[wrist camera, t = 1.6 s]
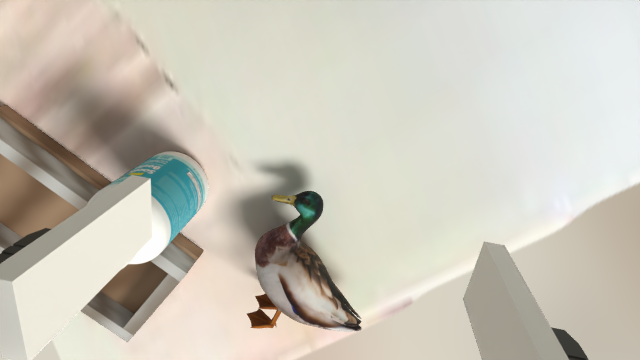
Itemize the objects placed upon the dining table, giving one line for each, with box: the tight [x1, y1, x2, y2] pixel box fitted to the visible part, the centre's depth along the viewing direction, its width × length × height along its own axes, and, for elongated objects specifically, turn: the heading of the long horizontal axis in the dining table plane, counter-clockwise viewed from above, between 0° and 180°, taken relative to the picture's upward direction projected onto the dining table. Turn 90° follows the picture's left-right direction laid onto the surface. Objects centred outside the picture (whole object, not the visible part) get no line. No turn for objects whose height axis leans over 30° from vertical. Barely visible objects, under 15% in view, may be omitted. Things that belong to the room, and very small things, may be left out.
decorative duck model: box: [247, 191, 361, 332], centre depth 42 cm, size 15×8×15 cm
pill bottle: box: [87, 151, 209, 269], centre depth 38 cm, size 8×7×14 cm
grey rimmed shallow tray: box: [0, 105, 203, 342], centre depth 46 cm, size 26×15×4 cm, turn 50°
